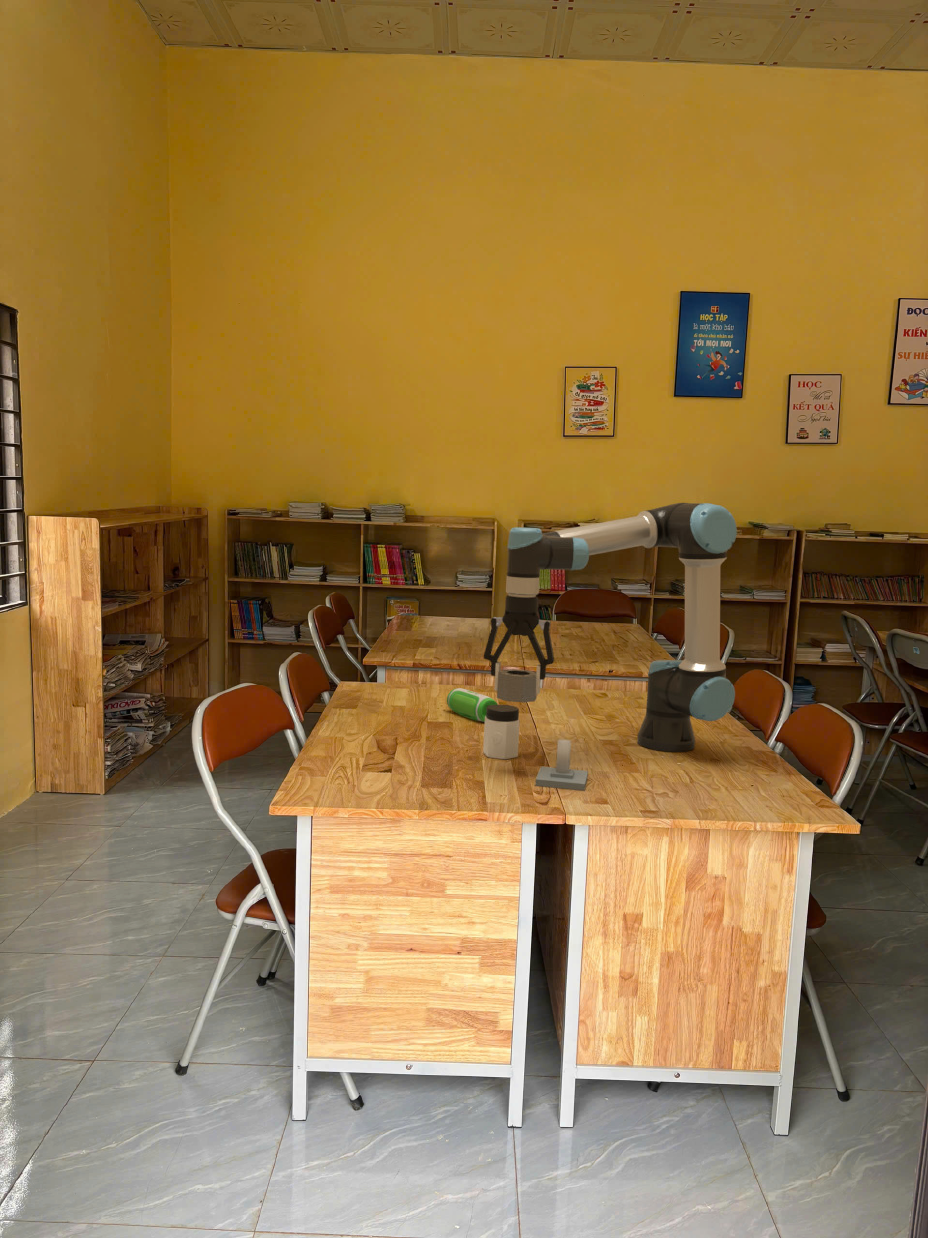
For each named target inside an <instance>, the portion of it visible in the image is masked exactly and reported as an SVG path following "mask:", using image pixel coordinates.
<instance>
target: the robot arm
mask: <svg viewBox="0 0 928 1238" xmlns="http://www.w3.org/2000/svg"><path fill="white" fill-rule="evenodd" d="M737 527H738V526H737V523H736V520H735V517H734V515H733V514H732V513H731V512H730V511H729V510H728V509H727V508H725V507H724V506H722V505H718V504H713V503H710V502H709V503H708V502H707V503H705V502H704V503H702V502H701V503H699V502H698V503H696V502H695V503H694V502H693V503H691V502H676V503H672V504H668V505H664V506H660V507H656V508H652V509H648V510H643V511H640V512H639V513H638V515H637V516H636V515H635V516H630V517H627V518H619V519H615V520H614V519H613V520H609V521H604V522H599V523H598V522H597V523H593V524H587V525H581V526H575V527H570V528H565V529H559V530H554V531H549V532H542V529H540V528H539V527H538V528H536V527H520V526H519V527H512V528H511V529H510V530H509V535H508V539H507V540H508V541H507V547H506V548H507V563H506V564H507V567H506V581H505V583H506V584H505V592H506V593H507V594H508V595H506V596H505V601H504V602H505V603H504V604H505V605H504V607H505V608H504V613H503V614H504V615H503V616H502V617H496V616H494V617H492V618H491V619H490V627H491V628H490V632H489V635H488V639H487V643H486V647H485V650H484V654H483V659H484V660H488V661H489V662H490V664H491V665H490V675H491V676H492V677H494V691H495V692H497V688H498V672H499V671H500V670H501V666H502V665H501V664H502V663H501V661H498V660H499V658H500V656H501V655H502V653H503V651H504V649H505V647H506V646H507V643H508V642H509V640H510V639H511V637H512V636H523V637H527V638H528V640H529V642H530V643H531V647H532V648H533V651H534V654H535V655H536V658H537V660H538V662H539V664H537V666H536V673H537V674H536V693H535V694H537V695H539V694H540V693H541V682H542V681H541V680H545V678H546V677H547V676H546V674H547V666H548V665H552V664H553V663H554V662H555V657H554V649H553V643H552V638H551V637H552V636H551V632H550V631H551V621H550V620H547V619H546V620H543V619H540V618H539V616H538V613H539V612H538V611H539V598H538V596H537V595H539V592H540V575H541V574H540V573H541V570H554V571H556V570H560V571H561V570H563V571H564V570H565V571H571V572H572V571H574V570H575V571H578V570H579V571H580V570H583V569H584V568H585V567H586V566H587V564H588V562H589V558H590V556H593V555H598V554H599V555H600V554H604V553H610V552H614V551H620V550H626V549H631V548H635V547H640V546H641V547H642V546H643V547H644V548H646V549H651V548H656V547H660V548H661V547H664V548H677V549H678V559H679V561H680V562H681V563H682V564H684V659H658V660H653V661H652V662H650V664H649V668H648V673H647V676H648V679H647V680H648V681H647V692H646V693H647V695H646V706H645V707H646V710H645V716H644V718H643V721H642V723H641V726H640V729H639V730H638V732H637V740H636V741H637V744H638V745H640V746H641V747H644V748H647V749H651V750H655V751H662V752H672V753H673V752H677V753H681V752H689V751H693V750H694V749H695V748H696V747H695V746H696V737H695V733H694V730H693V725H692V721H691V717H692V718H693V719H696V720H699V721H700V720H702V721H706V722H714V721H715V722H716V721H718V720H720V719H723V717H725V716H726V715H727V713H728V712H729V711H730V710H731V709H732V707H733V705H734V703H735V697H736V690H735V687H734V685H733V683H732V682H731V681H730V680H729V679H728V678H727V676H726V675H727V672H726V671H727V666H726V664H725V663H724V662H722V660H721V657H720V656H721V655H720V654H721V653H720V651H721V647H720V646H721V644H720V643H721V565H722V564H723V563H724V562H725V560H727V558H728V556H727V555H728V550H730V549H731V548H732V546H733V544H734V543H735V541H736V538H737V534H738V529H737ZM502 623H503V624H504V626H505V627H506V629H507V630H506V632H505V633H504V636H503V637H502V639H501V641H500V642H499V645H498V647H497V648H496V651H495V652H494V654H492V651H493V647H494V644H495V640H496V636H497V632H498V629H499V627H500V626H501V624H502ZM538 625H539V626H540V629H541V630H542V631H543V632H542V634H543V640H544V646H545V650H546V657H547V658H546V657H545V655H544V652H543V651H542V647H541V646H540V643H539V640H538V639H537V636H536V634H535V631H534V630H535V629H536V628H537V626H538ZM494 691H493V692H494Z"/></svg>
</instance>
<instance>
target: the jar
mask: <svg viewBox="0 0 928 1238" xmlns="http://www.w3.org/2000/svg"><path fill="white" fill-rule="evenodd" d="M519 710H520V709H519V707H517V706H514V705H509V704H498V705H490V706H487V708H486V716H485V722H484V728H483V731H484V732H483V745H482V746H483V750H482V753H483V754H484V755H485V757H487V758H489V759H499V760H508V759H514V758H517V757H518V756H519V744H520V743H519V742H520V739H519V738H520V724H521V723H520V722H521V721H520V719H519V718H520V717H519V715H520V714H519V713H520V711H519Z"/></svg>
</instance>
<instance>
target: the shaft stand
mask: <svg viewBox="0 0 928 1238" xmlns="http://www.w3.org/2000/svg"><path fill="white" fill-rule="evenodd" d="M571 745H572V740H569V739H564V738H563V739H562V738H560V739H557V751H556V767H550V766H540V768H539V771H538V773H537V775H536V778H535V782H534V783H535V787H544V788H556V789H563V790H576V791H585V789H586V785H587V781H588V777H589V771H588V770H583V769H582V770H581V769H572V768H571V769H570V767H571V765H570V764H571V762H570V761H571V747H572V746H571Z"/></svg>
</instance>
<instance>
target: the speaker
mask: <svg viewBox="0 0 928 1238" xmlns="http://www.w3.org/2000/svg"><path fill="white" fill-rule="evenodd" d="M446 704H447V707H448V708H449V709H450V710H451V711H453V712H454V713H456V714H458V715H459V716H461V717H463V718H467V719H470V720H473V721H476V722H481V723H485V716H486V708H487V706H490V705H499V704H498V703H497V701H496V700H495V699H493V698H492V697H490V696H487V695H485V694H482V693H478V692H475V691H471V690H469V689H466V688H461V687H458V688H453V689H452V690H450V691H449V693H448V694H447V697H446Z"/></svg>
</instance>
